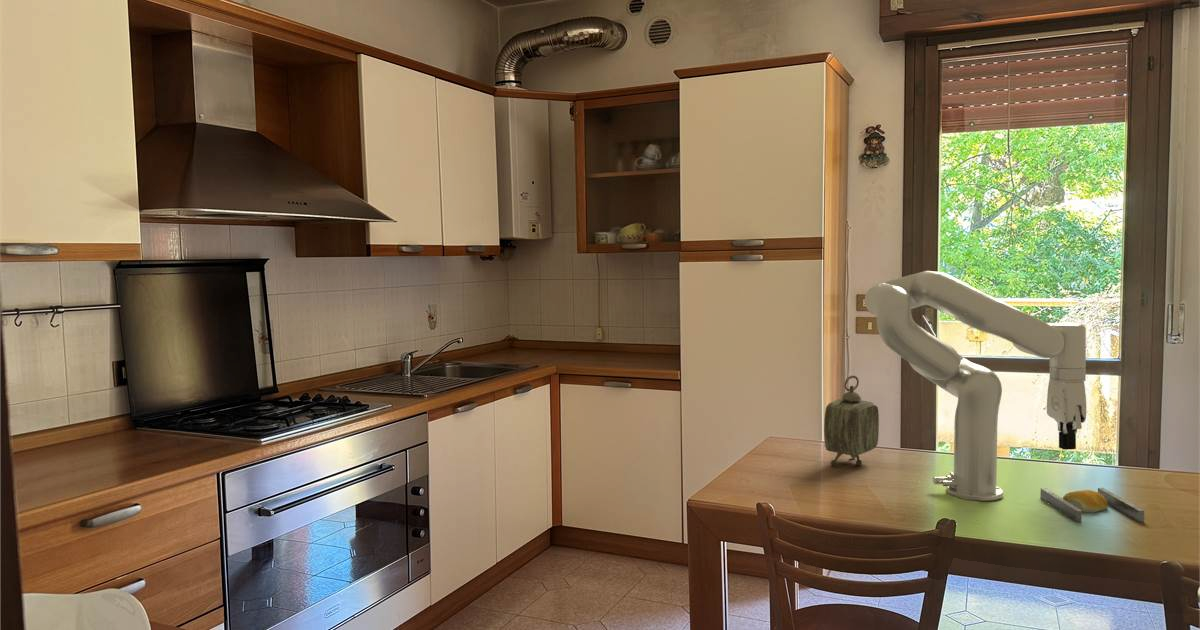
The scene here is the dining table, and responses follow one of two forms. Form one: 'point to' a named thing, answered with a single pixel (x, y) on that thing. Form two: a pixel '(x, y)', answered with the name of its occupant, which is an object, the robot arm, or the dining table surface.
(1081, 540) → the dining table surface
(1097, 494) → the bread roll
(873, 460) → the dining table surface
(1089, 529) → the dining table surface
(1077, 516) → the chute
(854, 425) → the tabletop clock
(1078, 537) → the dining table surface
